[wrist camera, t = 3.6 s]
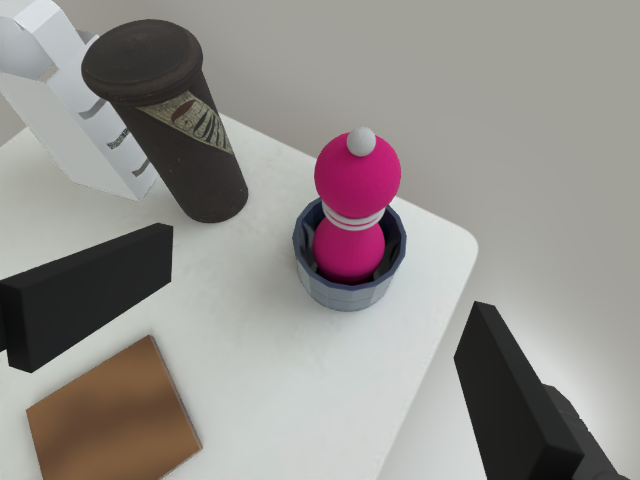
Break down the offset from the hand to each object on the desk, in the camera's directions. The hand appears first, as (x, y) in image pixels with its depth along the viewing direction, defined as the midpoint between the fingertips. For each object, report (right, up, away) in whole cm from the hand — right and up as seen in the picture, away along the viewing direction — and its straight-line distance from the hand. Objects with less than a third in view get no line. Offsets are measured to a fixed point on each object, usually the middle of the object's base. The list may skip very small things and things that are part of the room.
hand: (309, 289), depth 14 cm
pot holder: (-18, -15, +17) cm, 29 cm away
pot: (+3, -1, +24) cm, 24 cm away
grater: (-25, +13, +31) cm, 42 cm away
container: (-13, +7, +29) cm, 32 cm away
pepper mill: (+3, -1, +24) cm, 24 cm away
